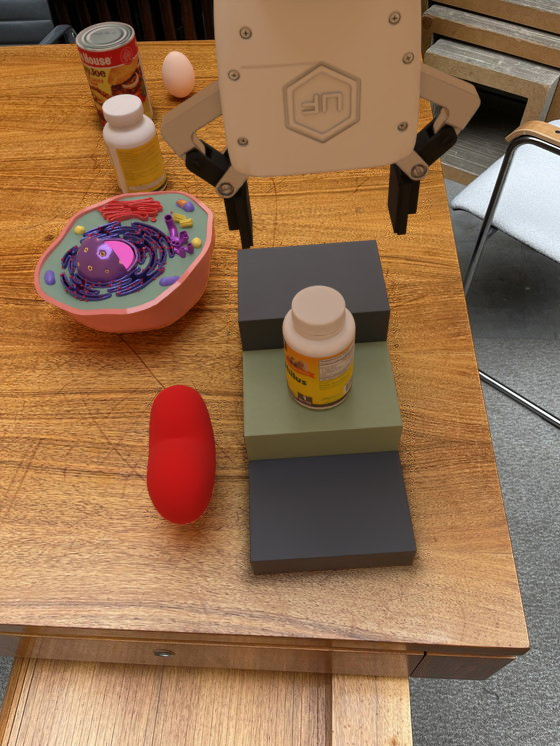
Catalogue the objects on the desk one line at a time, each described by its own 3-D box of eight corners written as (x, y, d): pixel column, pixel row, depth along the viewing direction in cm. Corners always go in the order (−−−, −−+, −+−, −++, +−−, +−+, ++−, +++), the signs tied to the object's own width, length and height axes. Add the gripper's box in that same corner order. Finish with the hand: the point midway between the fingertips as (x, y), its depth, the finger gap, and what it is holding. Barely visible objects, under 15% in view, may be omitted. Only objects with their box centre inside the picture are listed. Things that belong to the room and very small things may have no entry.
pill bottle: (177, 189, 84) (158, 106, 74) (132, 208, 82) (108, 126, 72) (154, 166, 87) (134, 84, 78) (111, 184, 85) (85, 102, 76)
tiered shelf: (369, 318, 68) (376, 239, 59) (412, 564, 52) (430, 506, 43) (248, 327, 68) (237, 249, 60) (253, 575, 52) (239, 518, 43)
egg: (173, 108, 96) (164, 64, 90) (161, 93, 98) (152, 50, 93) (202, 98, 97) (195, 54, 91) (190, 84, 99) (182, 41, 94)
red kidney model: (165, 437, 60) (141, 374, 53) (222, 431, 61) (207, 367, 53) (161, 555, 53) (132, 504, 45) (225, 549, 53) (208, 496, 45)
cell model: (260, 281, 72) (251, 199, 63) (131, 396, 64) (99, 320, 55) (157, 224, 79) (136, 143, 70) (28, 320, 71) (-15, 243, 62)
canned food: (90, 118, 95) (64, 36, 86) (134, 97, 98) (114, 16, 88) (118, 139, 91) (94, 56, 82) (163, 117, 94) (145, 34, 85)
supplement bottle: (277, 371, 56) (269, 289, 47) (336, 352, 57) (338, 268, 48) (300, 421, 52) (296, 342, 44) (362, 400, 53) (369, 318, 45)
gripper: (104, -27, 25) (186, 281, 39) (540, -73, 25) (469, 255, 38) (123, -93, 30) (190, 203, 44) (492, -132, 29) (444, 180, 43)
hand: (321, 227), depth 41 cm, fingers open, 9 cm apart
